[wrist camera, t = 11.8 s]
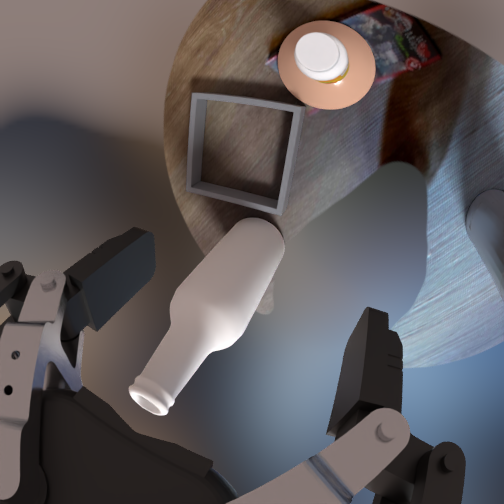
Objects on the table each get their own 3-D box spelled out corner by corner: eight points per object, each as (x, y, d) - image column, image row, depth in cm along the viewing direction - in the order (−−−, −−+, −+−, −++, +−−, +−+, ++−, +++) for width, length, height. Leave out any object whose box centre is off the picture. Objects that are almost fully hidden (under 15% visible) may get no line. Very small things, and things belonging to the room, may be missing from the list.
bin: (305, 106, 33) (301, 107, 31) (286, 208, 41) (281, 216, 39) (203, 92, 36) (192, 92, 34) (196, 184, 44) (185, 191, 42)
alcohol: (274, 209, 42) (151, 377, 18) (293, 261, 45) (208, 439, 21) (223, 221, 46) (90, 363, 22) (244, 268, 49) (142, 420, 25)
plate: (381, 34, 25) (381, 32, 24) (365, 120, 31) (365, 120, 31) (286, 16, 27) (284, 14, 27) (273, 99, 34) (271, 99, 33)
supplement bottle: (300, 75, 30) (280, 68, 23) (312, 38, 27) (296, 19, 19) (341, 90, 30) (336, 86, 22) (355, 53, 27) (353, 36, 19)
